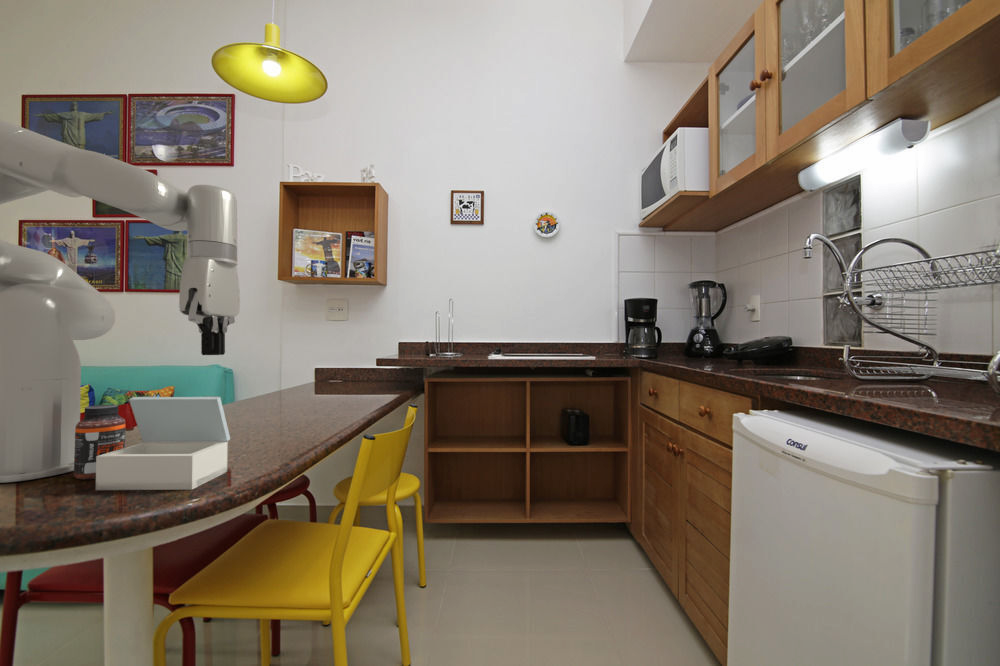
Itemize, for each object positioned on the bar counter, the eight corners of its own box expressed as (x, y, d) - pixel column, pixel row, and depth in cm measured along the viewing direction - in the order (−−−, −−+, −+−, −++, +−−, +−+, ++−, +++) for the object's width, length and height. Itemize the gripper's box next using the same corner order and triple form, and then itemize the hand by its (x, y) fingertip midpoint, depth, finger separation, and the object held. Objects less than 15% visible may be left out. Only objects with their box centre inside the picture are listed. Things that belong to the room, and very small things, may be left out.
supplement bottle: (99, 481, 63) (100, 409, 63) (62, 481, 63) (63, 409, 64) (134, 469, 69) (135, 403, 69) (100, 468, 69) (101, 403, 70)
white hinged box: (95, 490, 59) (96, 456, 60) (142, 472, 67) (142, 442, 68) (192, 489, 60) (192, 455, 60) (227, 471, 68) (227, 442, 68)
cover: (128, 399, 65) (136, 395, 66) (142, 441, 68) (149, 437, 69) (217, 399, 65) (222, 395, 67) (227, 441, 68) (232, 436, 69)
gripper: (219, 263, 82) (219, 353, 81) (159, 246, 67) (159, 357, 66) (257, 263, 82) (257, 353, 82) (205, 246, 67) (205, 356, 67)
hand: (213, 354), depth 74 cm, fingers closed
